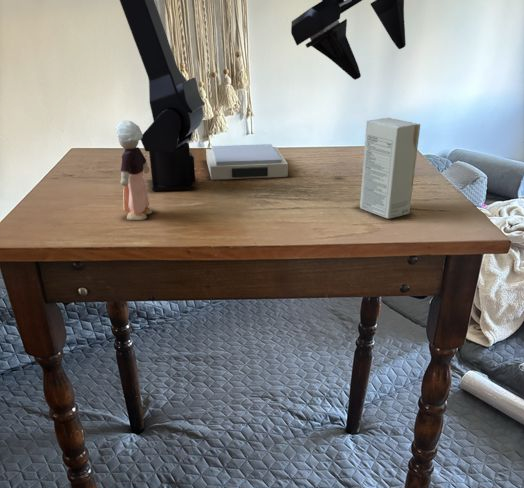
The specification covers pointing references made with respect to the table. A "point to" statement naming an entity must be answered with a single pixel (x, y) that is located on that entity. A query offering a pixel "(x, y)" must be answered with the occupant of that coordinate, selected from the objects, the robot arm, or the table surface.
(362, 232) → the table surface
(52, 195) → the table surface
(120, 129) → the grandmother figurine
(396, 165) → the cosmetic box
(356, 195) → the table surface
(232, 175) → the scale
